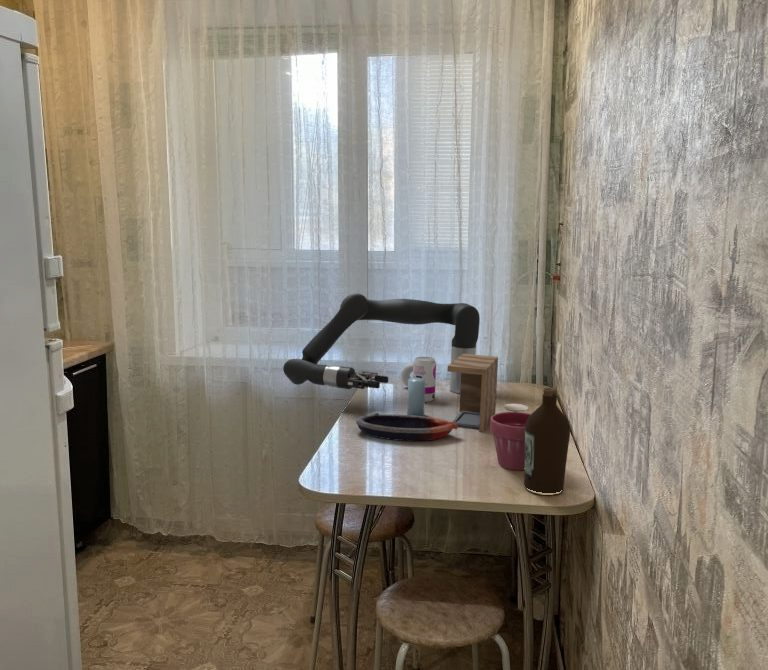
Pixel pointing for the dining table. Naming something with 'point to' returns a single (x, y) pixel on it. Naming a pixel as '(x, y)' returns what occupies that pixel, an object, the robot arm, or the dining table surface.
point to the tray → (468, 419)
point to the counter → (477, 385)
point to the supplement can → (426, 375)
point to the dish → (405, 426)
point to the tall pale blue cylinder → (416, 396)
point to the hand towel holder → (515, 407)
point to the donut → (406, 373)
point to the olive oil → (546, 446)
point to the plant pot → (510, 438)
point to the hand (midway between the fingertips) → (383, 382)
